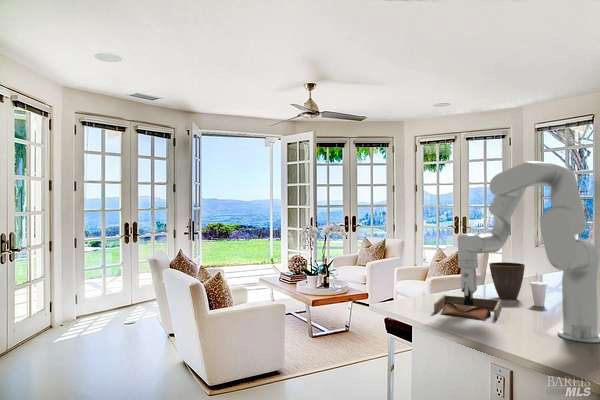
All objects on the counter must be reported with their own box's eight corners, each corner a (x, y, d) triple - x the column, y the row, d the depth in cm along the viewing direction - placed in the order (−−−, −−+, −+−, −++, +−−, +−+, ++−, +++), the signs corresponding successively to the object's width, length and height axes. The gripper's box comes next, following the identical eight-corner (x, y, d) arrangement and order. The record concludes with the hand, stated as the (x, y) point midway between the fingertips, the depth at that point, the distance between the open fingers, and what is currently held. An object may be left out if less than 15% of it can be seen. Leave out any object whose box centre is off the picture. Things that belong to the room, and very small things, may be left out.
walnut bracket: (497, 320, 159) (496, 309, 159) (434, 313, 170) (434, 303, 170) (501, 309, 175) (501, 300, 175) (443, 304, 187) (443, 295, 187)
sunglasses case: (438, 314, 169) (440, 298, 172) (443, 320, 174) (445, 304, 176) (486, 320, 158) (488, 303, 161) (490, 326, 163) (491, 310, 166)
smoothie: (532, 303, 187) (531, 271, 187) (549, 305, 183) (548, 272, 183) (529, 306, 182) (528, 273, 182) (546, 308, 178) (545, 274, 178)
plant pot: (493, 301, 192) (492, 265, 192) (487, 294, 206) (486, 261, 207) (529, 302, 188) (528, 266, 189) (520, 295, 203) (519, 262, 203)
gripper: (474, 266, 166) (475, 313, 165) (480, 262, 179) (481, 306, 178) (454, 265, 169) (455, 311, 169) (461, 261, 182) (462, 304, 182)
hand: (468, 308), depth 174 cm, fingers closed
